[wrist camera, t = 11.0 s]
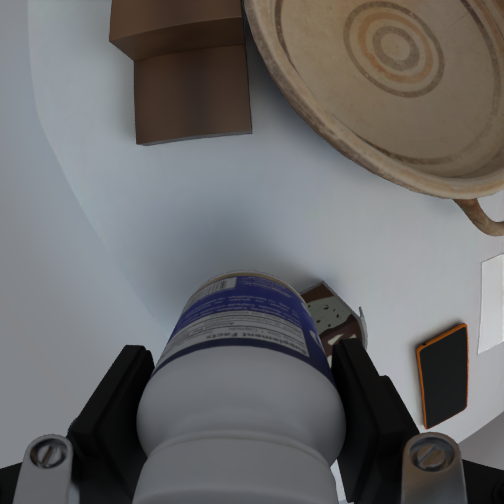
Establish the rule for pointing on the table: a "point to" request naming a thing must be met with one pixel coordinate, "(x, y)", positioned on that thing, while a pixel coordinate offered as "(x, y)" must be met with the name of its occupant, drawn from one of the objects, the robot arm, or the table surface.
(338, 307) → the food container
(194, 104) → the step shelf
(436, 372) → the smartphone
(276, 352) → the pill bottle
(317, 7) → the ceramic bowl
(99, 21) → the table surface
